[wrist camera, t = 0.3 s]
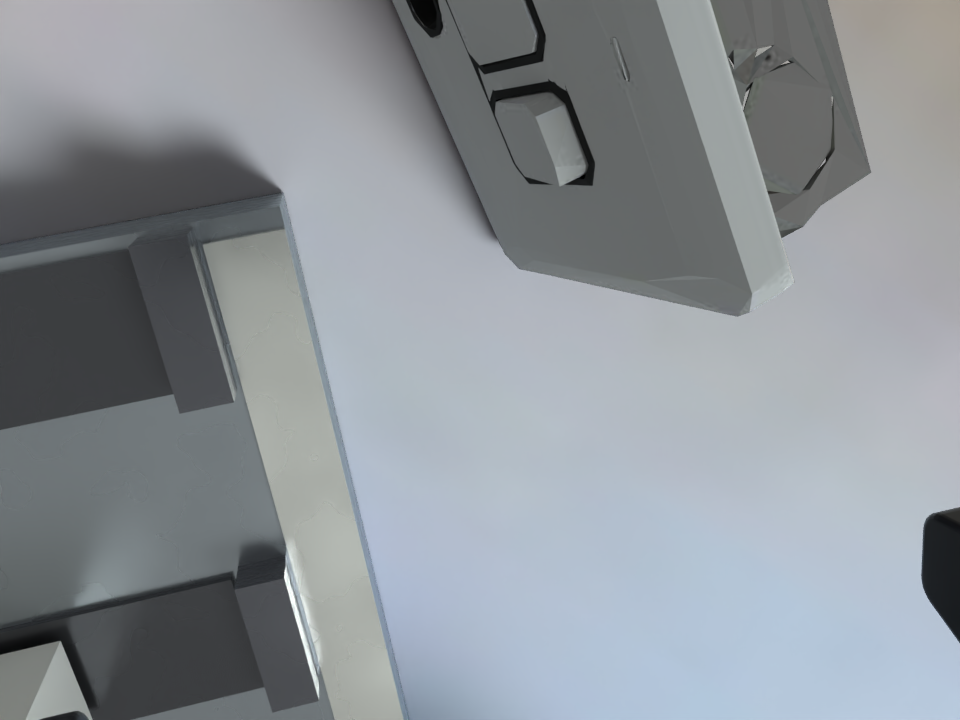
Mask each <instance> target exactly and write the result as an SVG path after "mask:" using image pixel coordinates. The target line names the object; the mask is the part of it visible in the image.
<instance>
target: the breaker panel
mask: <svg viewBox="0 0 960 720" xmlns="http://www.w3.org/2000/svg"><path fill="white" fill-rule="evenodd" d="M57 641H61V643H62V646H63V648H64V650H65V653H66V655H67V658H68V660H69V663H70V665H71V668H72V670H73V673H74V675H75V677H76V680H77V682H78V685H79V687H80V690H81V692H82V695H83V697H84V699H85V702H86V704H87V707H88V709H89V712H90V714H91V717H92V719H93V720H409V716H408V712H407V708H406V704H405V699H404V695H403V691H402V687H401V683H400V679H399V674H398V670H397V666H396V662H395V658H394V653H393V649H392V645H391V641H390V637H389V633H388V628H387V624H386V620H385V616H384V612H383V607H382V603H381V599H380V595H379V591H378V587H377V582H376V578H375V574H374V570H373V566H372V561H371V557H370V553H369V549H368V545H367V540H366V536H365V532H364V528H363V524H362V520H361V515H360V511H359V507H358V503H357V499H356V494H355V490H354V486H353V482H352V478H351V474H350V469H349V465H348V461H347V457H346V453H345V448H344V444H343V440H342V436H341V432H340V427H339V423H338V419H337V415H336V411H335V407H334V402H333V398H332V394H331V390H330V386H329V381H328V377H327V373H326V369H325V365H324V361H323V356H322V352H321V348H320V344H319V340H318V335H317V331H316V327H315V323H314V319H313V314H312V310H311V306H310V302H309V298H308V294H307V289H306V285H305V281H304V277H303V273H302V268H301V264H300V260H299V256H298V252H297V248H296V243H295V239H294V235H293V231H292V227H291V222H290V218H289V214H288V210H287V206H286V202H285V197H284V193H277V194H272V195H266V196H261V197H256V198H250V199H245V200H239V201H234V202H229V203H223V204H218V205H212V206H207V207H202V208H196V209H191V210H185V211H180V212H175V213H169V214H164V215H158V216H153V217H148V218H142V219H137V220H131V221H126V222H121V223H115V224H110V225H104V226H99V227H94V228H88V229H83V230H77V231H72V232H67V233H61V234H56V235H50V236H45V237H40V238H34V239H29V240H23V241H18V242H13V243H7V244H2V245H0V655H2V654H6V653H10V652H15V651H19V650H23V649H27V648H32V647H36V646H40V645H44V644H49V643H53V642H57Z"/></svg>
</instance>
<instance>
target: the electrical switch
mask: <svg viewBox="0 0 960 720" xmlns="http://www.w3.org/2000/svg"><path fill="white" fill-rule="evenodd" d="M392 2H393V4H394V6H395V8H396V11H397V13H398V15H399V18H400V20H401V22H402V24H403V27H404V29H405V31H406V33H407V36H408V38H409V40H410V42H411V45H412V47H413V49H414V51H415V54H416V56H417V58H418V61H419V63H420V65H421V67H422V70H423V72H424V74H425V76H426V79H427V81H428V83H429V85H430V88H431V90H432V92H433V94H434V97H435V99H436V101H437V103H438V106H439V108H440V110H441V113H442V115H443V117H444V119H445V122H446V124H447V126H448V128H449V131H450V133H451V135H452V137H453V140H454V142H455V144H456V146H457V149H458V151H459V153H460V156H461V158H462V160H463V162H464V165H465V167H466V169H467V171H468V174H469V176H470V178H471V180H472V183H473V185H474V187H475V189H476V192H477V194H478V196H479V199H480V201H481V203H482V205H483V208H484V210H485V212H486V214H487V217H488V219H489V221H490V223H491V226H492V228H493V230H494V232H495V235H496V237H497V239H498V241H499V243H500V245H501V247H502V249H503V251H504V253H505V255H506V256H507V257H508V258H509V259H510V260H511V261H512V262H513V263H514V264H515V265H516V266H517V267H518V268H519V269H522V270H527V271H532V272H537V273H541V274H546V275H551V276H555V277H560V278H564V279H569V280H573V281H578V282H582V283H587V284H592V285H596V286H601V287H605V288H610V289H614V290H619V291H623V292H628V293H632V294H637V295H642V296H646V297H651V298H655V299H660V300H664V301H669V302H673V303H678V304H682V305H687V306H691V307H696V308H701V309H705V310H710V311H714V312H719V313H723V314H728V315H732V316H737V317H738V316H741V315H743V314H746V313H749V312H751V311H753V310H754V309H756V308H758V307H759V306H761V305H763V304H764V303H766V302H767V301H769V300H771V299H772V298H774V297H776V296H777V295H779V294H780V293H782V292H783V291H784V290H786V289H787V288H788V287H789V286H791V285H792V284H793V283H794V279H793V275H792V272H791V269H790V265H789V262H788V259H787V255H786V252H785V249H784V245H783V242H782V239H781V238H782V237H784V236H786V235H788V234H790V233H792V232H794V231H796V230H797V229H799V228H801V227H803V226H804V225H805V224H806V222H807V221H808V220H809V219H810V218H811V216H812V215H813V214H814V213H815V212H816V210H817V209H818V208H819V207H820V206H821V205H822V204H824V203H825V202H827V201H828V200H830V199H831V198H833V197H834V196H836V195H837V194H839V193H841V192H842V191H844V190H845V189H847V188H848V187H850V186H851V185H853V184H854V183H856V182H857V181H859V180H860V179H862V178H863V177H865V176H867V175H868V174H870V173H871V170H870V166H869V163H868V159H867V155H866V151H865V147H864V143H863V139H862V135H861V131H860V127H859V123H858V119H857V115H856V111H855V107H854V103H853V99H852V95H851V91H850V88H849V84H848V80H847V76H846V72H845V68H844V64H843V60H842V56H841V52H840V48H839V44H838V40H837V36H836V32H835V28H834V24H833V20H832V17H831V13H830V9H829V5H828V1H827V0H392ZM767 46H772V47H771V48H769V49H768V50H766V51H765V52H763V53H762V54H760V55H759V56H757V57H756V58H755V55H756V52H757V49H758V48H763V47H767ZM728 57H729V58H730V60H731V61H732V63H733V64H734V69H733V67H732V65H731V63H730V61H729V59H728ZM787 60H788V61H789V62H791V63H787V64H783V65H781V64H782V63H784V62H785V61H787ZM749 89H750V91H749V94H748V97H747V100H746V104H745V107H744V110H743V109H742V105H743V101H744V96H745V92H746V91H747V90H749ZM831 96H833V105H832V101H831ZM825 158H826V162H825V163H824V164H823V165H822V166H821V167H820V165H821V164H822V162H823V161H824V160H825ZM819 167H820V168H819ZM818 168H819V169H818Z"/></svg>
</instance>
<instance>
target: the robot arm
mask: <svg viewBox="0 0 960 720" xmlns="http://www.w3.org/2000/svg"><path fill="white" fill-rule="evenodd" d="M921 576H922V584H923V588H924V591H925V593H926V595H927V597H928V599H929V601H930V602H931V604H932V605H933V607H934V608H935V609H936V611H937V612H938V613H939V615H940V616H941V618H942V619H943V620H944V622H945V623H946V625H947V626H948V627H949V629H950V630H951V631H952V633H953V634H954V636H955V637H956V638H957V640H958V641H959V643H960V507H959V508H954V509H950V510H945V511H941V512H937V513H933V514H931V515H930V516H929V517H927V519H926V521H925V523H924V528H923V550H922V574H921ZM40 720H89V719H88V717H87V716H86V715H85V714H84V713H82V712H80V711H72V712H68V713H64V714H59V715H55V716H51V717H46V718H43V719H40Z"/></svg>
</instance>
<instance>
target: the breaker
mask: <svg viewBox="0 0 960 720" xmlns="http://www.w3.org/2000/svg"><path fill="white" fill-rule="evenodd" d="M72 711H80V712H82V713H84V714H85V715H86V716H87V717H88V719H89V720H93V719H92V717H91V714H90V712H89V709H88V707H87V704H86V702H85V699H84V697H83V695H82V692H81V690H80V687H79V685H78V682H77V680H76V677H75V675H74V673H73V670H72V668H71V665H70V663H69V660H68V658H67V655H66V653H65V650H64V648H63V646H62V643H61V641H57V642H53V643H49V644H44V645H40V646H36V647H32V648H27V649H23V650H19V651H15V652H10V653H6V654H2V655H0V720H40V719H43V718H46V717H51V716H55V715H59V714H64V713H68V712H72Z"/></svg>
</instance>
